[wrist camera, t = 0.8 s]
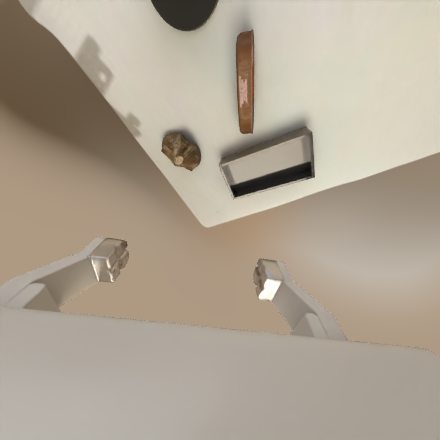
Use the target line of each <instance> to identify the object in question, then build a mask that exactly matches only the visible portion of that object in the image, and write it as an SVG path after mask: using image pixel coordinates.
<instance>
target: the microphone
mask: <svg viewBox="0 0 440 440" xmlns="http://www.w3.org/2000/svg"><path fill="white" fill-rule="evenodd" d="M151 1H152V3H153V5H154V7H155V8H156V10H157V12H158V13H159V14H160V16H161V17H162V18H163V19H164V20H165V21H166V22H167V23H168V24H169V25H171V26H172V27H174V28H176V29H178V30H181V31H193V30H196V29H198V28H200V27H201V26H202V25H204V24H205V23H206V22H207V20H208V19H209V18H210V16H211V15H212V13H213V11H214V9H215V7H216V5H217V2H218V0H151Z"/></svg>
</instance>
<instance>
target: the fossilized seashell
mask: <svg viewBox="0 0 440 440" xmlns="http://www.w3.org/2000/svg"><path fill="white" fill-rule="evenodd" d="M161 151H162V152H163V153H164V154H165V155H166V156H167V157H168V158H169V159H170V160H171V161H172V163H173V164H174V165H175V166H180V167H185V168H186V169H188V170H190V171H192V170H193V169H194V168H195V167H197V166H198V165H199V163H200V161H201V153H200V150H199V148H198V146H197V145H196V144H194V143H192V142H189V141H187V140H186V139H185V137H184V136H183V135H181V134H179V133H170V134H169V135H167V136H165V137H164V138H163V141H162V150H161Z"/></svg>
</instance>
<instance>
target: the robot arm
mask: <svg viewBox="0 0 440 440" xmlns="http://www.w3.org/2000/svg"><path fill="white" fill-rule="evenodd" d="M126 247H127V242H126V241H124V240H119V239H112V238H105V237H96V238H95V239H94V240H93V241H92V242H90V243H89V244H88V245H87V246H86V247H85V248H84V249H83V250H81V251H80V252H79V253H78V254H77V255H72V256H69V257H66V258H64V259H61V260H59V261H56V262H53V263H51V264H48V265H46V266H43V267H40V268H38V269H35V270H33V271H30V272H28V273H25V274H22V275H20V276H17V277H15V278H12V279H10V280H9V281H7V282H6V283H4V284H3V285H2V286H0V440H440V356H439V355H437V354H435V353H434V352H432V351H430V350H427V349H424V348H418V347H409V346H398V345H389V344H379V343H368V342H358V341H348V339H347V338H346V336H345V334H344V333H343V331H342V329H341V328H340V326H339V324H338V322H337V321H336V319H335V317H334V315H333V314H331V313H330V312H329V311H328V310H327V309H326V308H325V307H323V306H322V305H321V304H320V303H319V302H318V301H316V300H315V299H314V298H313V297H312V296H311V295H310V294H308V293H307V292H306V291H305V290H304V289H303V288H302V287H300V286H299V285H298V284H297V283H295V282H293V280H292V278H291V276H290V273H289V272H288V269H287V267H286V265H285V263H284V262H283V261H277V260H268V259H259V260H258V262H257V264H258V267H256V268H255V271H254V283H255V284H256V285H257V287H256V293H257V298H258V299H261V300H268V301H272V303H273V305H274V306H275V307H276V309H277V310H278V311H279V313H280V314H281V315H282V317H283V318H284V319H285V321H286V322H287V323H288V325H289V326H290V327H291V329H292V330H293V331H292V332H291V334H290V335H287V334H276V333H267V332H257V331H246V330H236V329H226V328H216V327H206V326H196V325H185V324H175V323H165V322H155V321H145V320H134V319H125V318H115V317H105V316H95V315H84V314H73V313H64V312H61V311H60V310H59V307H60V306H62V305H63V304H65V303H66V302H68V301H69V300H71V299H72V298H74V297H75V296H77V295H78V294H80V293H81V292H83V291H84V290H86V289H87V288H89V287H91V286H92V285H94V284H95V283H97V281H102V282H114V281H115V280H116V278H117V277H118V275H119V274H120V269H122V268H124V267H125V265H126V264H127V261H128V258H129V253H128V251H127V250H126V249H125V248H126Z"/></svg>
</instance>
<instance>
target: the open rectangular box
mask: <svg viewBox="0 0 440 440" xmlns="http://www.w3.org/2000/svg"><path fill="white" fill-rule="evenodd" d="M219 167H220V170H221V172H222V174H223V177H224V179H225V181H226V184H227V186H228V189H229V191H230V193H231V196H232V198H233V200H234V199H238V198H242V197H245V196H249V195H252V194H256V193H260V192H263V191H267V190H271V189H274V188H278V187H282V186H285V185H289V184H292V183H296V182H300V181H303V180H307V179H311V178H314V177H315V172H314V154H313V136H312V131H310V130H309V129H308V128H307V127H304V128H301V129H298V130H296V131H293V132H290V133H288V134H285V135H282V136H280V137H277V138H274V139H272V140H269V141H266V142H264V143H261V144H258V145H256V146H253V147H250V148H248V149H245V150H242V151H240V152H237V153H234V154H232V155H229V156H226V157H224V158H221V160H220V164H219Z"/></svg>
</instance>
